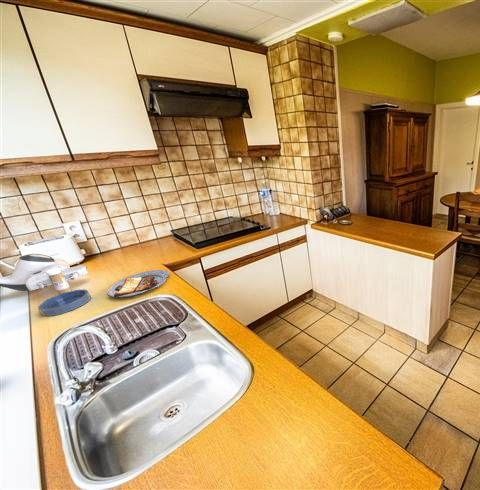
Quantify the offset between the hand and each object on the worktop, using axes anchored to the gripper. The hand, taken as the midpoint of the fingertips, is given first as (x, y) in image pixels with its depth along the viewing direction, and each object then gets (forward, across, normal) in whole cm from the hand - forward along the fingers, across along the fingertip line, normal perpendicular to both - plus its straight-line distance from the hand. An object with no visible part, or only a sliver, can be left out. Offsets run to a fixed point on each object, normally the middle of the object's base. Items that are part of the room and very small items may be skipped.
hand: (58, 282), depth 126 cm
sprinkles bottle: (-1, 0, -7) cm, 7 cm away
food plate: (+22, -26, -7) cm, 34 cm away
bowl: (+14, 0, -7) cm, 16 cm away
